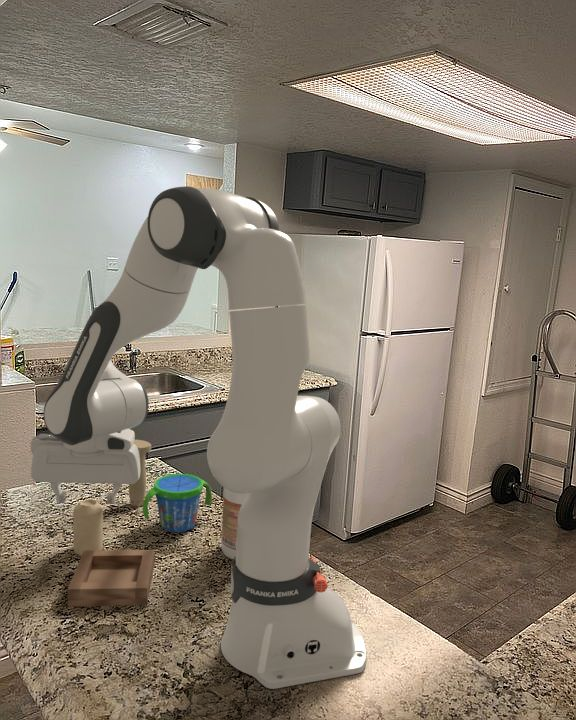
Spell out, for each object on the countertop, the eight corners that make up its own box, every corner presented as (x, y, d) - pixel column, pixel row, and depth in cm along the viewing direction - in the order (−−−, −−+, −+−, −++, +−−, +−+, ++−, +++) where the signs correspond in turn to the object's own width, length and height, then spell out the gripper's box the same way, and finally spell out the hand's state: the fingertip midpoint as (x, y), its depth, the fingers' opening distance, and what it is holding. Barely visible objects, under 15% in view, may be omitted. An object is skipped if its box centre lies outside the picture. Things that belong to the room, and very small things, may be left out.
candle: (93, 558, 115) (93, 509, 114) (68, 553, 117) (67, 505, 115) (107, 544, 121) (108, 498, 119) (83, 540, 122) (82, 494, 120)
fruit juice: (225, 537, 127) (230, 410, 122) (269, 541, 126) (276, 414, 121) (217, 560, 117) (222, 423, 112) (264, 564, 117) (272, 427, 112)
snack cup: (149, 543, 122) (150, 497, 121) (135, 522, 131) (136, 478, 130) (219, 530, 130) (221, 486, 128) (202, 510, 139) (203, 469, 137)
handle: (138, 511, 136) (139, 449, 134) (119, 503, 140) (120, 442, 137) (154, 505, 140) (155, 444, 138) (135, 497, 144) (136, 438, 141)
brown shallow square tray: (154, 565, 114) (154, 549, 114) (147, 605, 101) (147, 588, 101) (84, 566, 112) (84, 550, 112) (67, 606, 100) (67, 589, 99)
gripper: (25, 438, 110) (26, 508, 113) (138, 442, 113) (136, 510, 115) (35, 428, 116) (35, 494, 119) (142, 431, 119) (140, 496, 122)
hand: (86, 502), depth 117 cm, fingers open, 8 cm apart
